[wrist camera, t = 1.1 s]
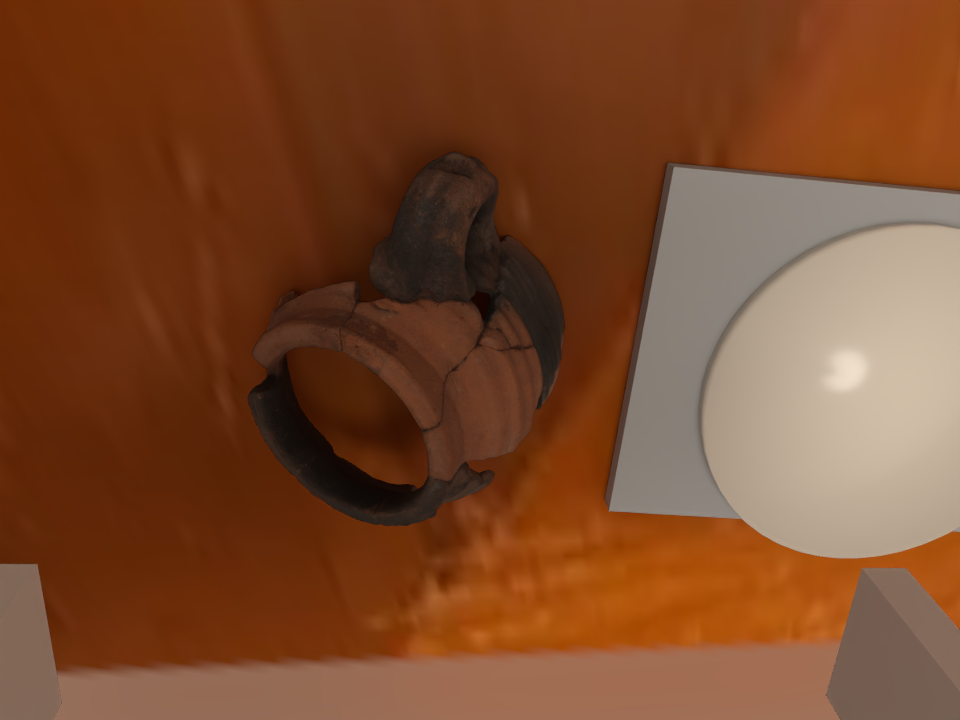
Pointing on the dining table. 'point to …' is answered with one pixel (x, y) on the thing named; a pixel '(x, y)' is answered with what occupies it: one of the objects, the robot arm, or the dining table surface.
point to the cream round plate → (844, 395)
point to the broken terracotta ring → (423, 347)
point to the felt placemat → (723, 307)
